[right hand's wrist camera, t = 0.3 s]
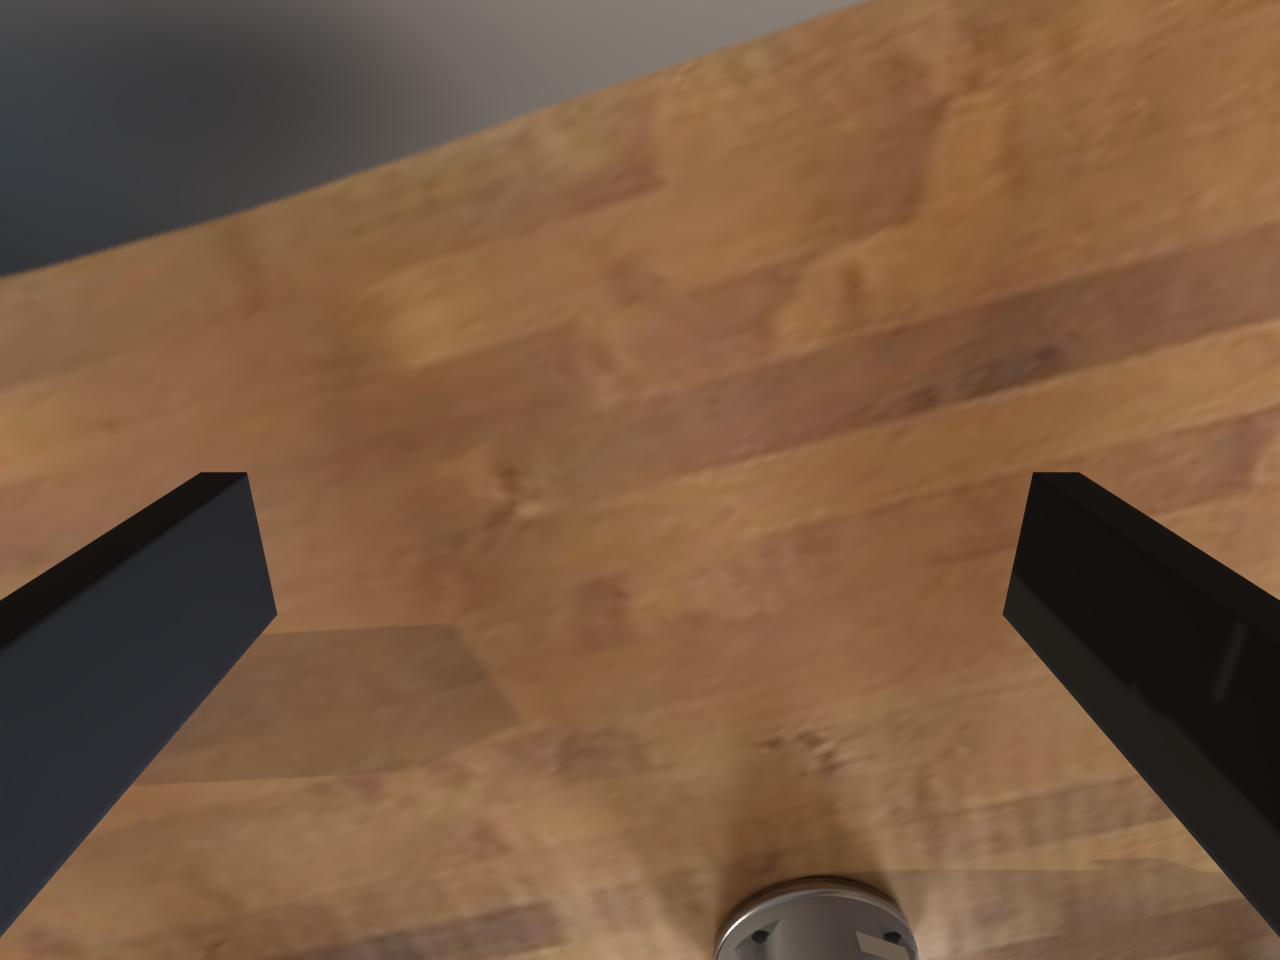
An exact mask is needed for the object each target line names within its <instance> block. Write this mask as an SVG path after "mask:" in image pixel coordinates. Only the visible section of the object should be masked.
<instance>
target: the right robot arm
mask: <svg viewBox="0 0 1280 960" xmlns="http://www.w3.org/2000/svg"><path fill="white" fill-rule="evenodd" d="M276 615H277V611H276V606H275V602H274V597H273V592H272V588H271V583H270V578H269V574H268V569H267V564H266V560H265V555H264V550H263V546H262V541H261V536H260V531H259V527H258V522H257V517H256V513H255V508H254V503H253V499H252V494H251V489H250V485H249V480H248V475H247V472H201V473H199V474H198V475H196V476H194V477H193V478H191V479H190V480H188V481H187V482H185V483H184V484H182V485H180V486H179V487H177V488H176V489H174V490H173V491H171V492H169V493H168V494H166V495H165V496H163V497H162V498H160V499H158V500H157V501H155V502H154V503H152V504H151V505H149V506H147V507H146V508H144V509H143V510H141V511H140V512H138V513H137V514H135V515H133V516H132V517H130V518H129V519H127V520H126V521H124V522H122V523H121V524H119V525H118V526H116V527H115V528H113V529H111V530H110V531H108V532H107V533H105V534H104V535H102V536H101V537H99V538H97V539H96V540H94V541H93V542H91V543H90V544H88V545H86V546H85V547H83V548H82V549H80V550H79V551H77V552H75V553H74V554H72V555H71V556H69V557H68V558H66V559H64V560H63V561H61V562H60V563H58V564H57V565H55V566H54V567H52V568H50V569H49V570H47V571H46V572H44V573H43V574H41V575H39V576H38V577H36V578H35V579H33V580H32V581H30V582H28V583H27V584H25V585H24V586H22V587H21V588H19V589H18V590H16V591H14V592H13V593H11V594H10V595H8V596H7V597H5V598H3V599H2V600H0V937H1V936H2V935H3V934H4V932H5V931H6V930H7V929H8V928H9V927H10V925H11V924H12V923H13V922H14V921H15V920H16V918H17V917H18V916H19V915H20V914H21V913H22V911H23V910H24V909H25V908H26V907H27V906H28V904H29V903H30V902H31V901H32V900H33V899H34V897H35V896H36V895H37V894H38V893H39V892H40V890H41V889H42V888H43V887H44V886H45V885H46V883H47V882H48V881H49V880H50V879H51V878H52V876H53V875H54V874H55V873H56V872H57V871H58V869H59V868H60V867H61V866H62V865H63V864H64V863H65V861H66V860H67V859H68V858H69V857H70V856H71V854H72V853H73V852H74V851H75V850H76V849H77V847H78V846H79V845H80V844H81V843H82V842H83V840H84V839H85V838H86V837H87V836H88V835H89V833H90V832H91V831H92V830H93V829H94V828H95V826H96V825H97V824H98V823H99V822H100V821H101V819H102V818H103V817H104V816H105V815H106V814H107V812H108V811H109V810H110V809H111V808H112V807H113V805H114V804H115V803H116V802H117V801H118V800H119V798H120V797H121V796H122V795H123V794H124V793H125V791H126V790H127V789H128V788H129V787H130V786H131V784H132V783H133V782H134V781H135V780H136V779H137V777H138V776H139V775H140V774H141V773H142V772H143V770H144V769H145V768H146V767H147V766H148V765H149V763H150V762H151V761H152V760H153V759H154V758H155V756H156V755H157V754H158V753H159V752H160V751H161V749H162V748H163V747H164V746H165V745H166V744H167V742H168V741H169V740H170V739H171V738H172V737H173V736H174V734H175V733H176V732H177V731H178V730H179V729H180V727H181V726H182V725H183V724H184V723H185V722H186V720H187V719H188V718H189V717H190V716H191V715H192V713H193V712H194V711H195V710H196V709H197V708H198V706H199V705H200V704H201V703H202V702H203V701H204V699H205V698H206V697H207V696H208V695H209V694H210V692H211V691H212V690H213V689H214V688H215V687H216V685H217V684H218V683H219V682H220V681H221V680H222V678H223V677H224V676H225V675H226V674H227V673H228V671H229V670H230V669H231V668H232V667H233V666H234V664H235V663H236V662H237V661H238V660H239V659H240V657H241V656H242V655H243V654H244V653H245V652H246V650H247V649H248V648H249V647H250V646H251V645H252V643H253V642H254V641H255V640H256V639H257V638H258V636H259V635H260V634H261V633H262V632H263V631H264V629H265V628H266V627H267V626H268V625H269V624H270V622H271V621H272V620H273V619H274V618H275V617H276ZM1003 616H1004V617H1005V618H1006V619H1007V620H1008V621H1009V622H1010V624H1011V625H1012V626H1013V627H1014V628H1015V629H1016V631H1017V632H1018V633H1019V634H1020V635H1021V636H1022V638H1023V639H1024V640H1025V641H1026V642H1027V643H1028V645H1029V646H1030V647H1031V648H1032V649H1033V650H1034V652H1035V653H1036V654H1037V655H1038V656H1039V657H1040V659H1041V660H1042V661H1043V662H1044V663H1045V664H1046V666H1047V667H1048V668H1049V669H1050V670H1051V671H1052V673H1053V674H1054V675H1055V676H1056V677H1057V678H1058V680H1059V681H1060V682H1061V683H1062V684H1063V685H1064V687H1065V688H1066V689H1067V690H1068V691H1069V692H1070V694H1071V695H1072V696H1073V697H1074V698H1075V699H1076V701H1077V702H1078V703H1079V704H1080V705H1081V706H1082V708H1083V709H1084V710H1085V711H1086V712H1087V713H1088V715H1089V716H1090V717H1091V718H1092V719H1093V720H1094V722H1095V723H1096V724H1097V725H1098V726H1099V727H1100V729H1101V730H1102V731H1103V732H1104V733H1105V734H1106V736H1107V737H1108V738H1109V739H1110V740H1111V741H1112V742H1113V744H1114V745H1115V746H1116V747H1117V748H1118V749H1119V751H1120V752H1121V753H1122V754H1123V755H1124V756H1125V758H1126V759H1127V760H1128V761H1129V762H1130V763H1131V765H1132V766H1133V767H1134V768H1135V769H1136V770H1137V772H1138V773H1139V774H1140V775H1141V776H1142V777H1143V779H1144V780H1145V781H1146V782H1147V783H1148V784H1149V786H1150V787H1151V788H1152V789H1153V790H1154V791H1155V793H1156V794H1157V795H1158V796H1159V797H1160V798H1161V800H1162V801H1163V802H1164V803H1165V804H1166V805H1167V807H1168V808H1169V809H1170V810H1171V811H1172V812H1173V814H1174V815H1175V816H1176V817H1177V818H1178V819H1179V821H1180V822H1181V823H1182V824H1183V825H1184V826H1185V828H1186V829H1187V830H1188V831H1189V832H1190V833H1191V835H1192V836H1193V837H1194V838H1195V839H1196V840H1197V842H1198V843H1199V844H1200V845H1201V846H1202V847H1203V849H1204V850H1205V851H1206V852H1207V853H1208V854H1209V856H1210V857H1211V858H1212V859H1213V860H1214V861H1215V863H1216V864H1217V865H1218V866H1219V867H1220V868H1221V869H1222V871H1223V872H1224V873H1225V874H1226V875H1227V876H1228V878H1229V879H1230V880H1231V881H1232V882H1233V883H1234V885H1235V886H1236V887H1237V888H1238V889H1239V890H1240V892H1241V893H1242V894H1243V895H1244V896H1245V897H1246V899H1247V900H1248V901H1249V902H1250V903H1251V904H1252V906H1253V907H1254V908H1255V909H1256V910H1257V911H1258V913H1259V914H1260V915H1261V916H1262V917H1263V918H1264V920H1265V921H1266V922H1267V923H1268V924H1269V925H1270V927H1271V928H1272V929H1273V930H1274V931H1275V932H1276V934H1277V935H1278V936H1279V937H1280V600H1278V599H1277V598H1275V597H1273V596H1272V595H1270V594H1269V593H1267V592H1266V591H1264V590H1262V589H1261V588H1259V587H1258V586H1256V585H1255V584H1253V583H1252V582H1250V581H1248V580H1247V579H1245V578H1244V577H1242V576H1241V575H1239V574H1237V573H1236V572H1234V571H1233V570H1231V569H1230V568H1228V567H1226V566H1225V565H1223V564H1222V563H1220V562H1219V561H1217V560H1216V559H1214V558H1212V557H1211V556H1209V555H1208V554H1206V553H1205V552H1203V551H1201V550H1200V549H1198V548H1197V547H1195V546H1194V545H1192V544H1190V543H1189V542H1187V541H1186V540H1184V539H1183V538H1181V537H1179V536H1178V535H1176V534H1175V533H1173V532H1172V531H1170V530H1169V529H1167V528H1165V527H1164V526H1162V525H1161V524H1159V523H1158V522H1156V521H1154V520H1153V519H1151V518H1150V517H1148V516H1147V515H1145V514H1143V513H1142V512H1140V511H1139V510H1137V509H1136V508H1134V507H1133V506H1131V505H1129V504H1128V503H1126V502H1125V501H1123V500H1122V499H1120V498H1118V497H1117V496H1115V495H1114V494H1112V493H1111V492H1109V491H1107V490H1106V489H1104V488H1103V487H1101V486H1100V485H1098V484H1096V483H1095V482H1093V481H1092V480H1090V479H1089V478H1087V477H1086V476H1084V475H1082V474H1081V473H1079V472H1033V475H1032V480H1031V485H1030V489H1029V494H1028V499H1027V503H1026V508H1025V513H1024V517H1023V522H1022V527H1021V531H1020V536H1019V541H1018V546H1017V550H1016V555H1015V560H1014V564H1013V569H1012V574H1011V578H1010V583H1009V588H1008V592H1007V597H1006V602H1005V606H1004V611H1003ZM714 960H919V957H918V951H917V946H916V943H915V940H914V937H913V934H912V932H911V929H910V926H909V923H908V921H907V919H906V917H905V915H904V914H903V912H902V911H901V910H900V908H899V907H898V906H897V905H896V904H895V903H894V902H893V901H892V900H891V899H889V898H888V897H887V896H885V895H884V894H882V893H881V892H879V891H877V890H875V889H873V888H871V887H869V886H866V885H863V884H860V883H857V882H853V881H849V880H844V879H836V878H806V879H799V880H793V881H788V882H784V883H781V884H777V885H774V886H772V887H769V888H767V889H764V890H762V891H760V892H758V893H756V894H754V895H752V896H751V897H749V898H747V899H746V900H745V901H743V902H742V903H741V904H739V905H738V906H737V907H736V908H735V909H734V910H733V911H732V912H731V913H730V914H729V915H728V916H727V917H726V919H725V920H724V921H723V923H722V925H721V926H720V928H719V930H718V933H717V935H716V938H715V942H714Z"/></svg>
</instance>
